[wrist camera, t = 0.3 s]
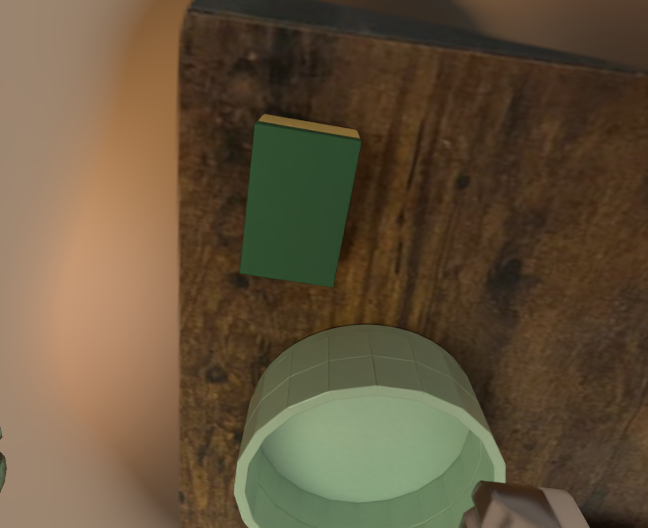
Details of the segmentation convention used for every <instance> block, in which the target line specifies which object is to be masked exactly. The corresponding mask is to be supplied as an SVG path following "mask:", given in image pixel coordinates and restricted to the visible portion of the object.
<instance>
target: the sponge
mask: <svg viewBox="0 0 648 528" xmlns="http://www.w3.org/2000/svg"><path fill="white" fill-rule="evenodd" d="M361 144H362V143H361V139H360V137H359V134H358V132H357V130H354V129H348V128H342V127H336V126H331V125H325V124H319V123H313V122H307V121H302V120H296V119H290V118H284V117H279V116H273V115H267V114H264V115H263V116H262V117H261V118H260V119H259V120H258V121H257V122H256V123H255V127H254V137H253V147H252V156H251V166H250V176H249V186H248V196H247V206H246V215H245V225H244V235H243V245H242V255H241V265H240V273H241V274H246V275H253V276H260V277H266V278H273V279H280V280H287V281H293V282H300V283H307V284H313V285H320V286H327V287H333V286H334V280H335V275H336V270H337V265H338V260H339V255H340V250H341V245H342V240H343V235H344V230H345V225H346V220H347V215H348V209H349V204H350V199H351V194H352V189H353V184H354V179H355V174H356V169H357V164H358V159H359V154H360V149H361Z"/></svg>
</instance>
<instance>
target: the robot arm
mask: <svg viewBox="0 0 648 528" xmlns="http://www.w3.org/2000/svg"><path fill="white" fill-rule="evenodd" d="M1 438H2V433H1V428H0V439H1ZM6 469H7V468H6V460H5V457H4V455H2V453H1V452H0V492H1V489H2V487H3V485H4V482H5V475H6ZM471 498H472V501H473V504H474V506H473V507H472V508H470V509H469V510H467V511H466V512H464V513H463V516H462V519H461V521H460V524H459V528H590V527H589V526H588V524H587V522H586V520H585V518H584V517H583V515H582V513H581V511H580V510H579V508H578V506H577V504H576V503H575V501H574V499H573V497H572V496H571V495H570V494H569V493H568V492H567V491H565V490H560V489H552V488H543V487H533V486H527V485H518V484H510V483H501V482H492V481H484V480H480V481H479V482H478V483H477V484H476V485H475V486H474V489H473V491H472V493H471Z"/></svg>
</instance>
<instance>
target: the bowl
mask: <svg viewBox="0 0 648 528" xmlns="http://www.w3.org/2000/svg"><path fill="white" fill-rule="evenodd" d="M505 472H506V465H505V461H504V459H503V457H502V454H501V452H500V450H499V447H498V445H497V443H496V440H495V438H494V436H493V433H492V431H491V429H490V426H489V424H488V422H487V419H486V417H485V415H484V412H483V410H482V408H481V405H480V403H479V401H478V399H477V396H476V394H475V392H474V390H473V388H472V386H471V383H470V381H469V379H468V377H467V375H466V374H465V372H464V370H463V369H462V367H461V366H460V365H459V364H458V362H457V361H456V360H455V359H454V358H453V357H452V356H451V355H450V354H449V353H448V352H446V351H445V350H444V349H443V348H441V347H440V346H438V345H437V344H435V343H434V342H432V341H431V340H429V339H426V338H424V337H422V336H420V335H418V334H416V333H413V332H409V331H406V330H403V329H399V328H394V327H390V326H382V325H350V326H343V327H337V328H333V329H329V330H325V331H322V332H319V333H317V334H314V335H311V336H309V337H307V338H305V339H303V340H301V341H299V342H297V343H295V344H294V345H292V346H291V347H289V348H288V349H287V350H285V351H284V352H282V353H281V354H280V355H279V356H278V357H277V358H276V359H275V360H274V361H273V362H272V363H271V364H270V365H269V366H268V368H267V369H266V370H265V371H264V373H263V374H262V376H261V378H260V379H259V381H258V383H257V385H256V388H255V390H254V393H253V396H252V398H251V401H250V405H249V409H248V414H247V419H246V423H245V428H244V433H243V438H242V442H241V447H240V452H239V456H238V461H237V468H236V476H235V485H234V495H235V498H236V501H237V504H238V507H239V510H240V513H241V517H242V520H243V521H244V523H245V524H246V525H247V527H248V528H459V524H460V521H461V519H462V516H463V513H464V512H466V511H467V510H469V509H470V508H472V507H473V506H474V504H473V501H472V498H471V493H472V491H473V489H474V486H475V485H476V484H477V483H478V482H479V481H480V480H484V481H492V482H501V483H505Z"/></svg>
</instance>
